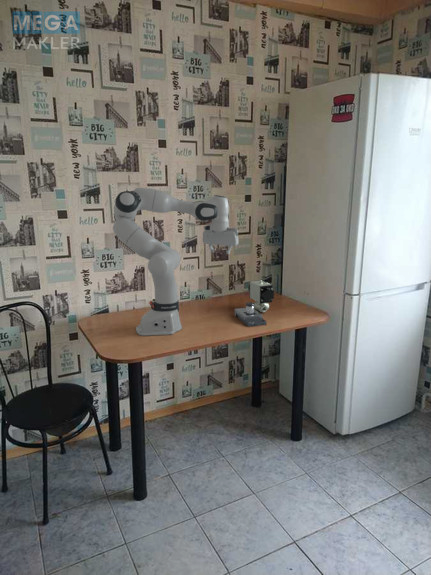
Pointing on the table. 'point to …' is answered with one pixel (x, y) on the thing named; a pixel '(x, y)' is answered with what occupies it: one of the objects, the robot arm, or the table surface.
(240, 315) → the square-holed grey plate
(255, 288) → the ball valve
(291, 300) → the table surface
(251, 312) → the pin
